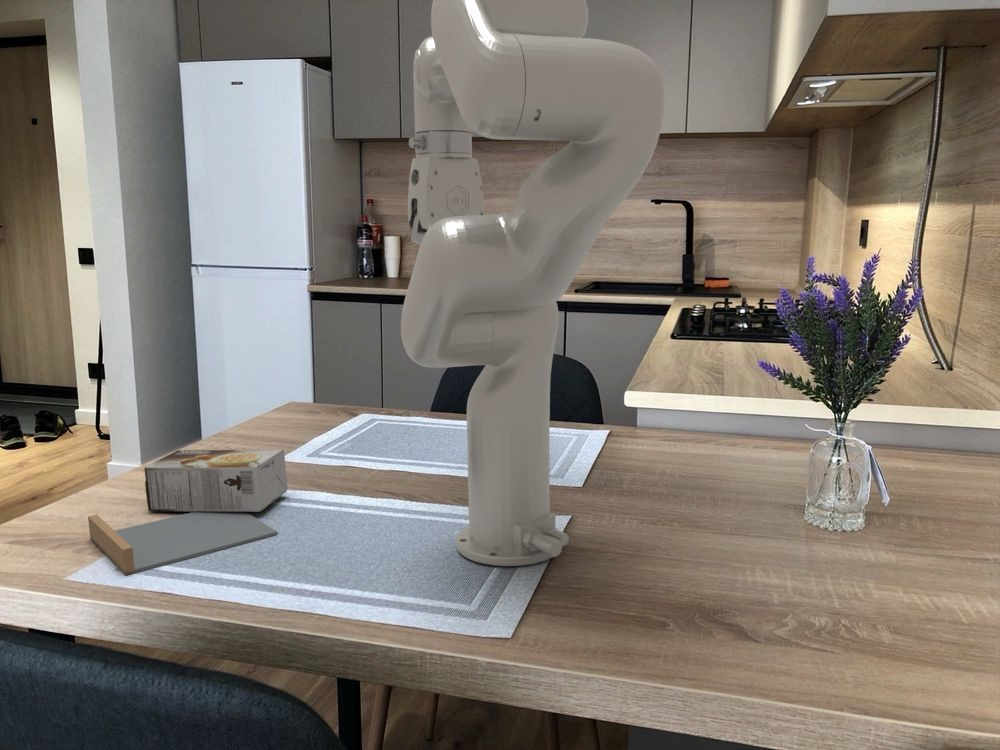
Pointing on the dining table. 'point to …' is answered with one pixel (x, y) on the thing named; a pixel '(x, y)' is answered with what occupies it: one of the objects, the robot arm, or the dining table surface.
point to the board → (175, 538)
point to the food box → (216, 480)
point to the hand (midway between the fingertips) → (447, 285)
